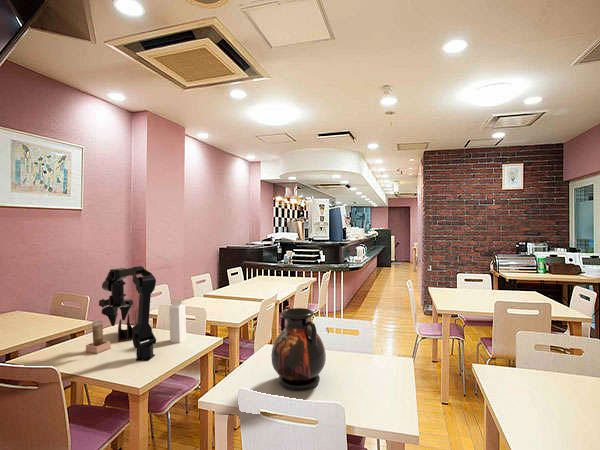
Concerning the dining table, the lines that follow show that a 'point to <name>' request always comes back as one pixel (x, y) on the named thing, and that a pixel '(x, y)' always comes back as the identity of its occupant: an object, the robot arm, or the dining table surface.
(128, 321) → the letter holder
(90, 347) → the pink open box
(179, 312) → the milk
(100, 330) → the brown tall cylinder
